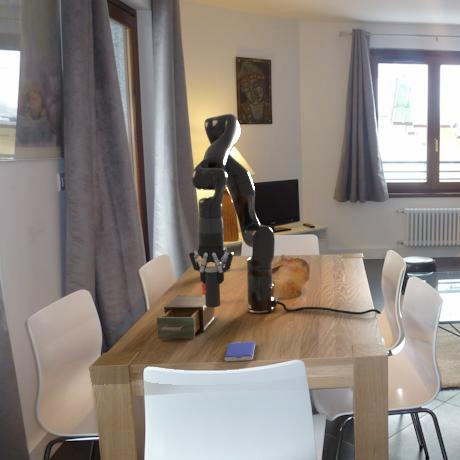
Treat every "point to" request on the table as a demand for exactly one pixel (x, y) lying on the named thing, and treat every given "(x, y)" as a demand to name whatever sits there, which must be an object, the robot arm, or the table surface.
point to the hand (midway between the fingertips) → (212, 283)
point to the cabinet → (193, 308)
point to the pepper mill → (212, 287)
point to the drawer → (179, 324)
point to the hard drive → (240, 351)
